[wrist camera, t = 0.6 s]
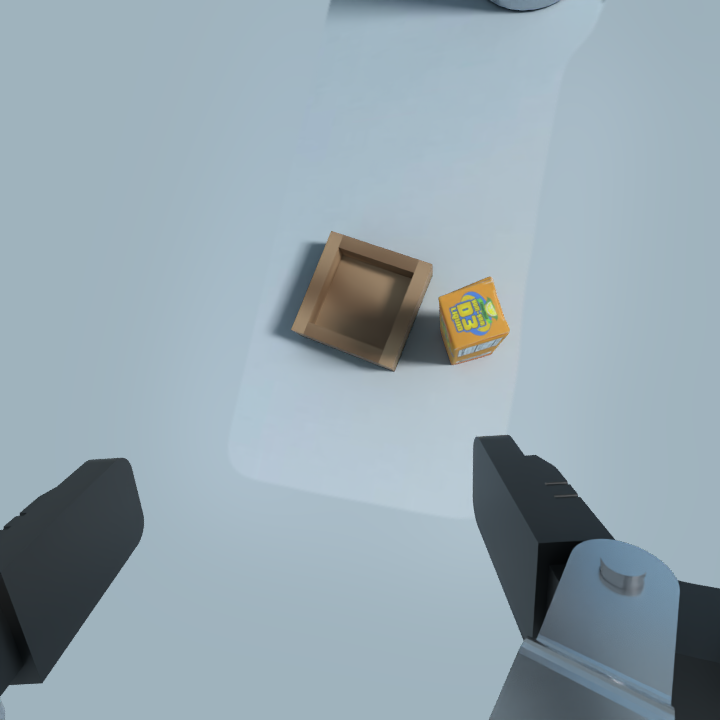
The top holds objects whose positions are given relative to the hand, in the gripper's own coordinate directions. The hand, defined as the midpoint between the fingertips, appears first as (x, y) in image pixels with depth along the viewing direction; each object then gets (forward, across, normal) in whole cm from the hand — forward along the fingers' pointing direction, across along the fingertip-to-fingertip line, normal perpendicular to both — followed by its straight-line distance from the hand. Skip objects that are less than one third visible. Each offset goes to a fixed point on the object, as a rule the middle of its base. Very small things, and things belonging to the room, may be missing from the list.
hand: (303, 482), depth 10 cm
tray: (+25, -2, 0) cm, 25 cm away
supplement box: (+23, -9, +3) cm, 25 cm away
